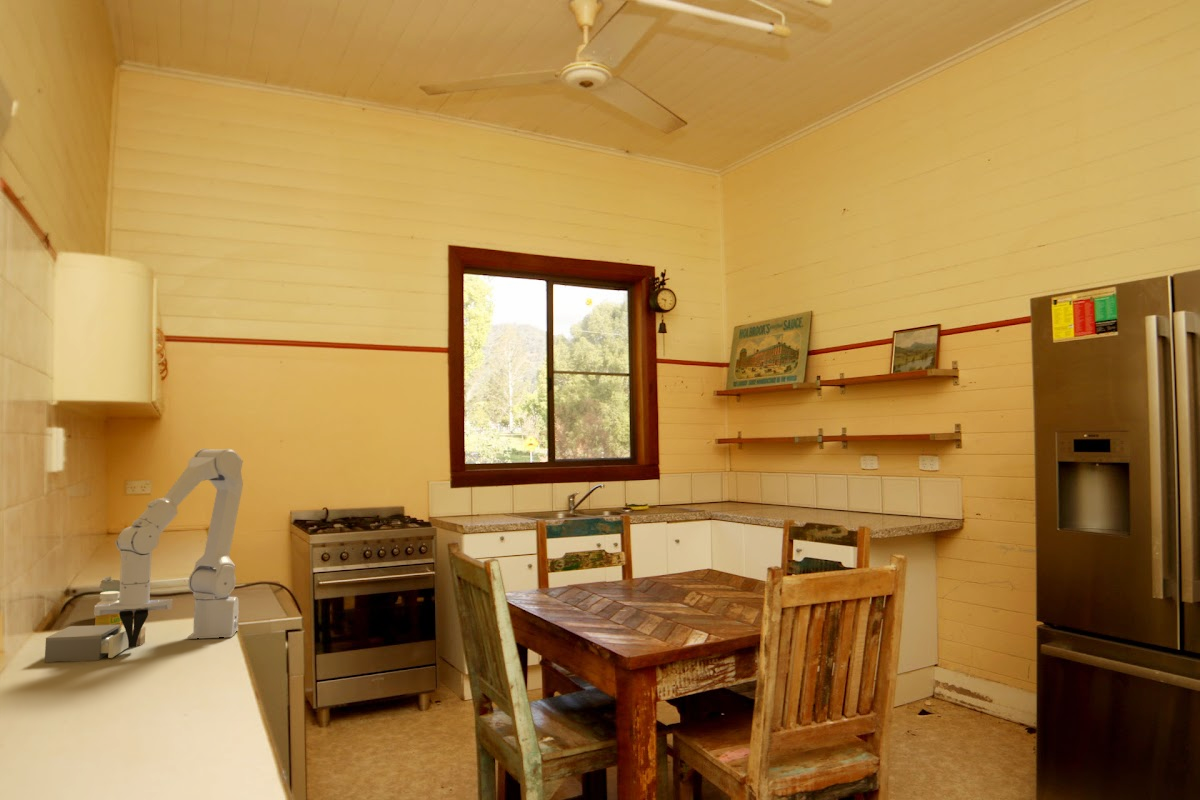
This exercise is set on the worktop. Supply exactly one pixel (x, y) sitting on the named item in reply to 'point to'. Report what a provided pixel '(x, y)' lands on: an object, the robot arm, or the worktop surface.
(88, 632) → the grey boxy piece
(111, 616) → the supplement bottle
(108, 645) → the tray
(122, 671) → the worktop surface
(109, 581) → the food container
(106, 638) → the disc
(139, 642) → the block
